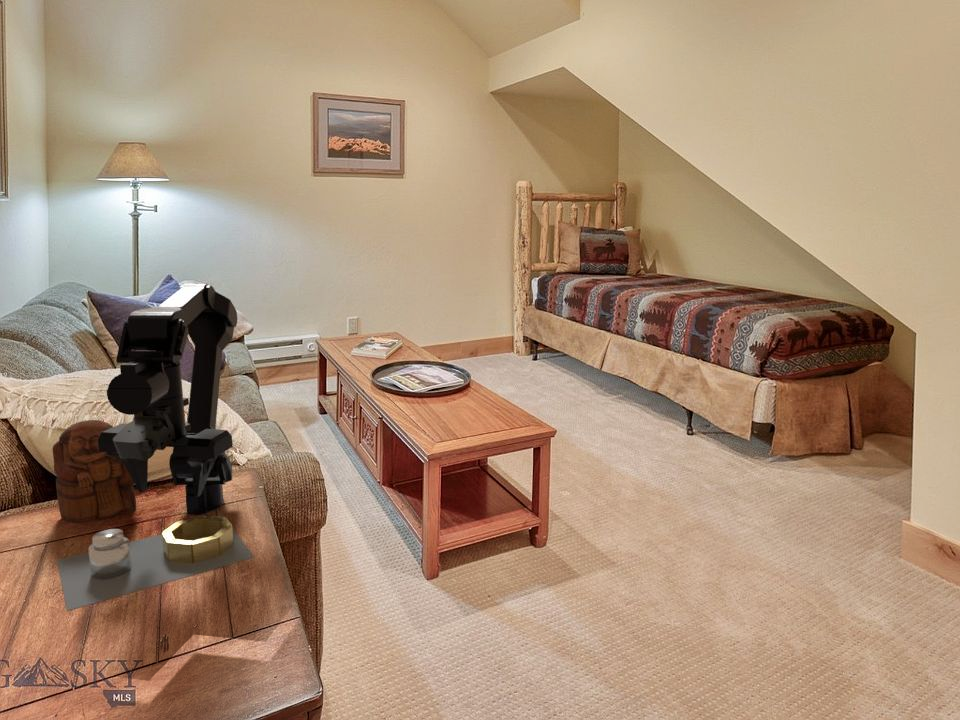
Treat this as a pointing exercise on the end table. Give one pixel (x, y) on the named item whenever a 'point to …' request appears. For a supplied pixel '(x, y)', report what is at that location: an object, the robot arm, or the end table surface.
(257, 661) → the end table surface
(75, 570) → the mat
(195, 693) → the end table surface
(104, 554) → the silver calibration weight
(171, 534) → the brass ring
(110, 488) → the wooden figurine
